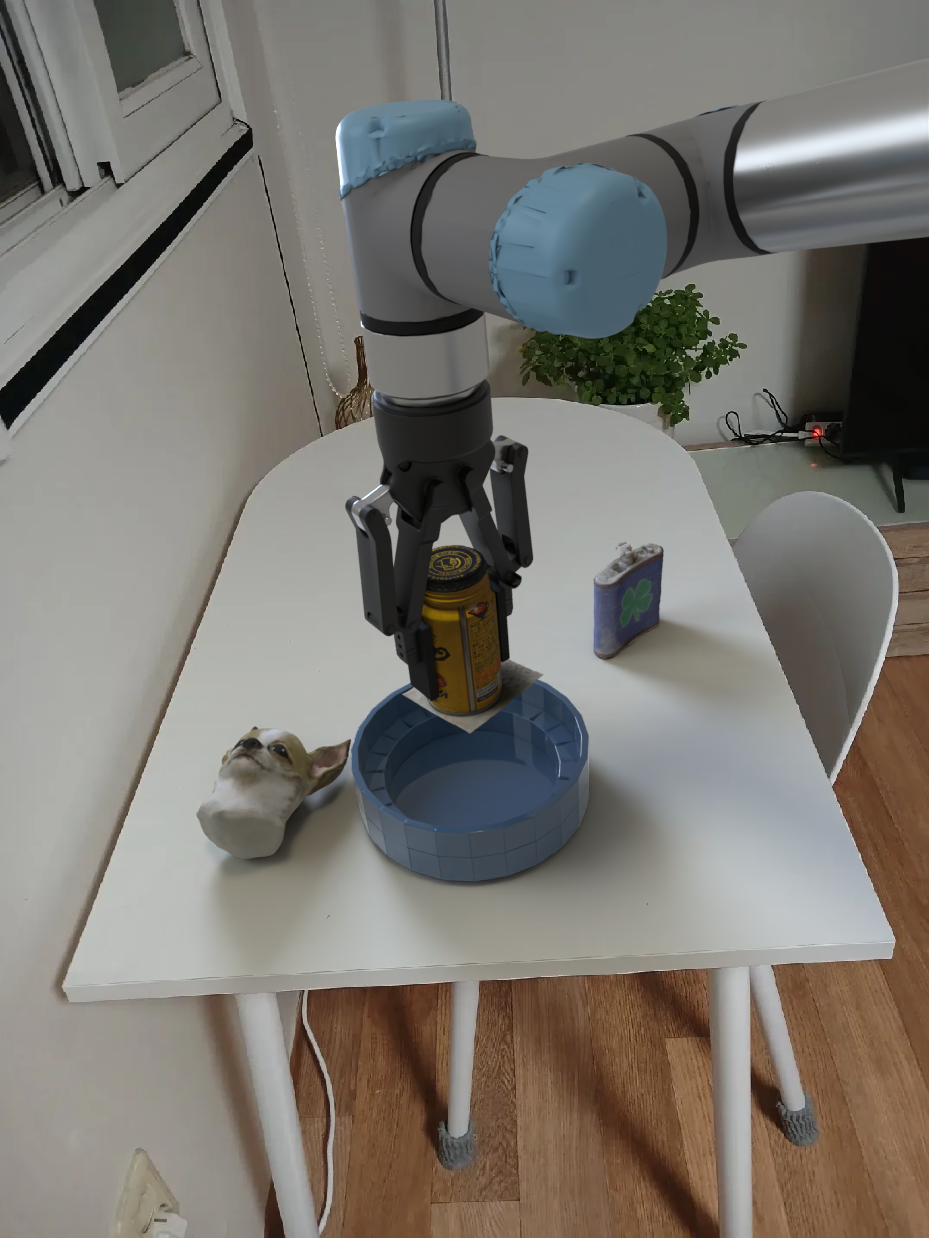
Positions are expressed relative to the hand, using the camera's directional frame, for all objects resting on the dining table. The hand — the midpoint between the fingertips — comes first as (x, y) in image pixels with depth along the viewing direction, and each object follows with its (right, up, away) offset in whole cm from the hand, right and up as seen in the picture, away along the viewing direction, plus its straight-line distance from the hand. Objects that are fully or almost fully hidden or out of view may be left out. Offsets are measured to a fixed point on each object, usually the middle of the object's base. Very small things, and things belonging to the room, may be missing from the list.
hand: (460, 670), depth 73 cm
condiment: (+1, -2, +2) cm, 2 cm away
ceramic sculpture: (-16, -12, +8) cm, 22 cm away
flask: (+17, +2, +24) cm, 29 cm away
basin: (+1, -11, +8) cm, 13 cm away
